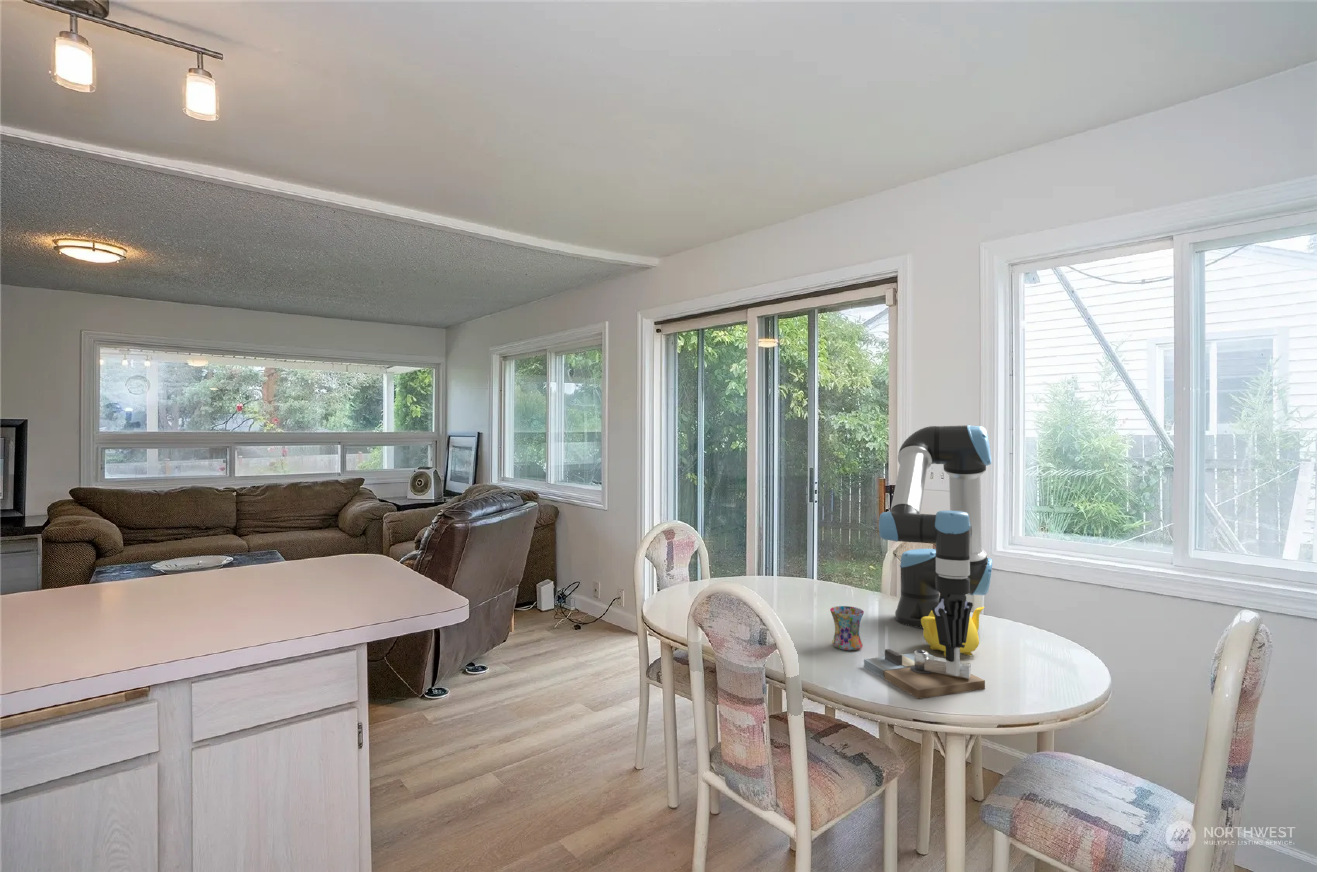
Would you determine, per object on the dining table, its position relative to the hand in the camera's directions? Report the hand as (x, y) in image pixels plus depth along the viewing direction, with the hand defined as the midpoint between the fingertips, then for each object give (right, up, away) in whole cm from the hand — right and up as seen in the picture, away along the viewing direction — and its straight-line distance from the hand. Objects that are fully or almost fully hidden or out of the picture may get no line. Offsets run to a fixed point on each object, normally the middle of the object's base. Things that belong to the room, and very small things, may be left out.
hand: (952, 673), depth 152 cm
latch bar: (-1, -1, +4) cm, 4 cm away
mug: (-16, -4, +31) cm, 35 cm away
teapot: (+12, -4, +26) cm, 29 cm away
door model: (-5, -4, +6) cm, 9 cm away
